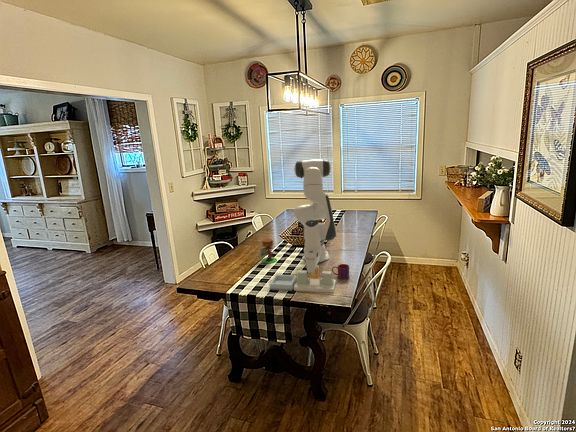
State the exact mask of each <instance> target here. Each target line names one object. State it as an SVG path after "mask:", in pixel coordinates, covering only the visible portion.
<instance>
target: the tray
mask: <svg viewBox="0 0 576 432" xmlns="http://www.w3.org/2000/svg"><path fill="white" fill-rule="evenodd" d="M297 277H298V274H297V275H296V274H275V275H274V277H273V278H272V280H271V281H270V283H269V290H270V291H286V292H289V291H290V292H292V291H293V290H294V286H295V284H296V282H297V280H296V278H297Z"/></svg>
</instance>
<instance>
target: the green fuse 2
mask: <svg viewBox="0 0 576 432" xmlns="http://www.w3.org/2000/svg"><path fill="white" fill-rule="evenodd" d="M321 273H322V274H321V278H322V281H323V285H332V279H333V272H332V270H331V271H329V270H326V271H325V270H323V271H322V272H321Z"/></svg>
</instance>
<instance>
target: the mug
mask: <svg viewBox="0 0 576 432" xmlns="http://www.w3.org/2000/svg"><path fill="white" fill-rule="evenodd" d="M334 269H337V273H336V272H335V271H334ZM331 271H332V274H333V275H335V276H337V278H338V279H341V280H347V279H350V265H349V264H348V263H347V264H345V263H342V264H341V263H340V264H338V265H337V266H333V267H332V268H331Z"/></svg>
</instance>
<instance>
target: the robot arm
mask: <svg viewBox="0 0 576 432" xmlns="http://www.w3.org/2000/svg"><path fill="white" fill-rule="evenodd" d="M293 170H294V174H295V176H296V177H297V178H300V179H303V183H302V184H303V196H304V197H305V198H306V199H307V200H308V201H310V202H312V203H309V204H308V203H307V204H301V205H297V206H296V207H294V210H293V216H294V219H296V221H298V222H299V223H300V224H301V225H302V226H303V228H302V233H303V234H302V235H303V236H302V237H303V238H304V241H305V242H304V247H303V256H301V257H302V258H301V259H302V260H305V264H306V265H305V266H306V271H307V273H309V272H311V273H312V275H315V269H316V266H317V265H318V264H319V263H321V262H325V261H328V260H330V255H329V252H328V250H327V249H326V245H325V244H324V241H333V240H334V239H335V238H336V237H337V233H338V230H337V226H336V223H335V221H334V215H333V209H332V206H331V202H330V198H329V195H328V194H326V193H325V191H324V189H323V178H326V177H328V176H329V175H330V173H331V170H332V166H331V162H330V161H329V160H328V159H325V158H324V159H323V158H322V159H318V158H317V159H315V158H313V159H305V160H302V159H301V160H297V161H296V162H295V164H294V168H293ZM324 219H326V222H319V221H318V220H324Z"/></svg>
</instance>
